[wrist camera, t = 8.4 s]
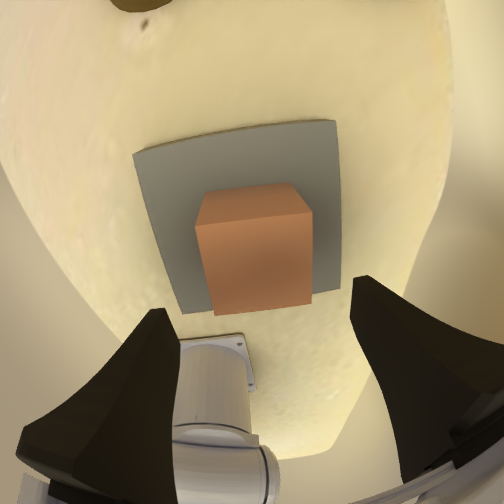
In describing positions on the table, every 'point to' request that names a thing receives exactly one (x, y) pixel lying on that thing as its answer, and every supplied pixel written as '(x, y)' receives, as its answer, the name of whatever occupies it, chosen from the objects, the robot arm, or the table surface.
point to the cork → (139, 5)
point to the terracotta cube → (256, 248)
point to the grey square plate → (237, 176)
